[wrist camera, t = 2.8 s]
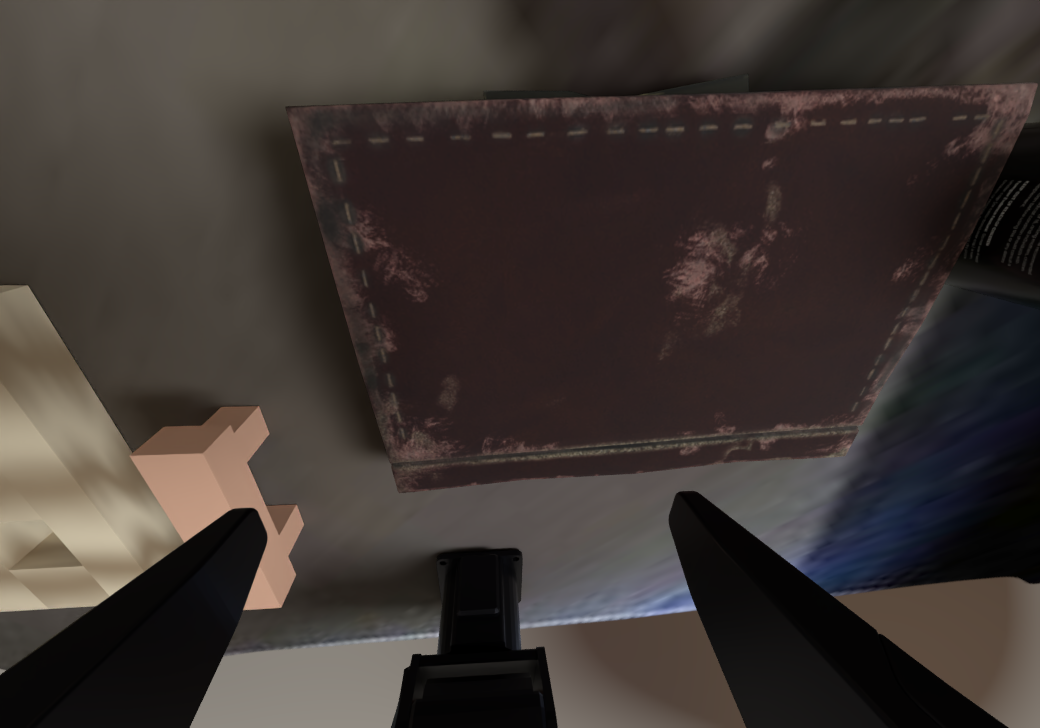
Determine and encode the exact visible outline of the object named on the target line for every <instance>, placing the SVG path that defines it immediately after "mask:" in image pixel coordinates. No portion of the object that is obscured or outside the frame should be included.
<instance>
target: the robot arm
mask: <svg viewBox="0 0 1040 728" xmlns="http://www.w3.org/2000/svg"><path fill="white" fill-rule="evenodd" d="M669 526H670V530H671V533H672V536H673V540H674V543H675V546H676V549H677V552H678V556H679V559H680V562H681V565H682V568H683V572H684V575H685V578H686V581H687V585H688V588H689V590H690V593H691V596H692V599H693V601H694V604H695V607H696V609H697V611H698V614H699V616H700V618H701V621H702V623H703V625H704V628H705V630H706V633H707V635H708V638H709V640H710V642H711V645H712V647H713V649H714V652H715V654H716V657H717V659H718V661H719V664H720V666H721V668H722V671H723V673H724V676H725V678H726V680H727V683H728V685H729V687H730V690H731V692H732V695H733V697H734V699H735V702H736V704H737V707H738V709H739V711H740V713H741V716H742V718H743V721H744V723H745V726H746V728H1008V727H1007V726H1005V725H1004V724H1003V723H1001V722H1000V721H998V720H997V719H995V718H994V717H993V716H991V715H990V714H988V713H987V712H986V711H984V710H983V709H982V708H980V707H979V706H977V705H976V704H975V703H973V702H972V701H970V700H969V699H967V698H966V697H965V696H963V695H962V694H961V693H959V692H958V691H956V690H955V689H954V688H952V687H951V686H949V685H948V684H947V683H945V682H944V681H943V680H941V679H940V678H939V677H937V676H936V675H935V674H933V673H932V672H931V671H929V670H928V669H927V668H925V667H924V666H923V665H921V664H920V663H919V662H917V661H916V660H915V659H913V658H912V657H911V656H909V655H908V654H907V653H906V652H904V651H903V650H902V649H900V648H899V647H898V646H896V645H895V644H894V643H893V642H891V641H890V640H889V639H887V638H886V637H885V636H883V635H881V634H878V632H877V631H876V630H875V629H874V628H873V627H872V626H870V625H869V624H868V623H867V622H865V621H864V620H862V619H861V618H860V617H859V616H857V615H856V614H855V613H854V612H852V611H851V610H850V609H848V608H847V607H846V606H844V605H843V604H842V603H841V602H839V601H838V600H837V599H835V598H834V597H833V596H832V595H830V594H829V593H828V592H826V591H825V590H824V589H822V588H821V587H820V586H819V585H817V584H816V583H815V582H813V581H812V580H811V579H810V578H808V577H807V576H806V575H804V574H803V573H802V572H800V571H799V570H798V569H797V568H795V567H794V566H793V565H791V564H790V563H789V562H788V561H786V560H785V559H784V558H782V557H781V556H780V555H778V554H777V553H776V552H775V551H773V550H772V549H771V548H769V547H768V546H767V545H766V544H764V543H763V542H762V541H760V540H759V539H758V538H756V537H755V536H754V535H753V534H751V533H750V532H749V531H747V530H746V529H745V528H743V527H742V526H741V525H740V524H738V523H737V522H736V521H734V520H733V519H732V518H731V517H729V516H728V515H727V514H725V513H724V512H723V511H721V510H720V509H719V508H718V507H716V506H715V505H714V504H712V503H711V502H710V501H709V500H707V499H706V498H705V497H703V496H702V495H701V494H699V493H698V492H695V491H681V492H678V493H677V494H676V496H675V498H674V502H673V505H672V508H671V511H670V514H669ZM267 540H268V536H267V531H266V529H265V527H264V524H263V522H262V520H261V518H260V515H259V513H258V511H257V510H256V509H254V508H235V509H231V510H229V511H228V512H226V513H225V514H223V515H222V516H221V517H219V518H218V519H217V520H215V521H214V522H212V523H211V524H210V525H208V526H207V527H205V528H204V529H203V530H201V531H200V532H198V533H197V534H196V535H194V536H193V537H191V538H190V539H189V540H187V541H186V542H185V543H183V544H182V545H180V546H179V547H178V548H176V549H175V550H173V551H172V552H171V553H169V554H168V555H166V556H165V557H164V558H162V559H161V560H159V561H158V562H157V563H155V564H154V565H153V566H151V567H150V568H148V569H147V570H146V571H144V572H143V573H141V574H140V575H139V576H137V577H136V578H134V579H133V580H132V581H130V582H129V583H127V584H126V585H125V586H123V587H122V588H120V589H119V590H118V591H116V592H115V593H114V594H112V595H111V596H109V597H108V598H107V599H105V600H104V601H102V602H101V603H100V604H98V605H97V606H95V607H94V608H93V609H91V610H90V611H88V612H87V613H86V614H84V615H83V616H82V617H80V618H79V619H77V620H76V621H75V622H73V623H72V624H70V625H69V626H68V627H66V628H65V629H63V630H62V631H61V632H59V633H58V634H56V635H55V636H54V637H52V638H51V639H49V640H48V641H47V642H45V643H44V644H43V645H41V646H40V647H38V648H37V649H36V650H34V651H33V652H31V653H30V654H29V655H27V656H26V657H24V658H23V659H22V660H20V661H19V662H17V663H16V664H15V665H13V666H12V667H11V668H9V669H8V670H6V671H5V672H4V673H2V674H1V675H0V728H190V725H191V723H192V721H193V719H194V717H195V715H196V713H197V711H198V708H199V706H200V704H201V702H202V700H203V698H204V696H205V694H206V691H207V689H208V687H209V685H210V683H211V681H212V678H213V676H214V674H215V672H216V670H217V668H218V666H219V663H220V662H221V659H222V657H223V655H224V653H225V651H226V649H227V647H228V645H229V642H230V640H231V638H232V636H233V634H234V631H235V629H236V627H237V625H238V622H239V620H240V617H241V614H242V612H243V609H244V606H245V604H246V601H247V598H248V595H249V593H250V590H251V587H252V584H253V581H254V579H255V576H256V573H257V570H258V568H259V565H260V562H261V559H262V556H263V554H264V551H265V548H266V545H267ZM522 559H523V558H522V552H521V551H519V550H510V551H492V552H473V553H455V554H441V555H439V556H438V557H437V562H436V565H437V573H438V580H439V587H440V594H441V601H442V611H441V621H440V631H439V640H438V650H437V655H421V654H413V655H412V660H411V664H410V666H409V667H407V668H406V669H404V675H403V681H402V687H401V693H400V698H399V702H398V706H397V709H396V713H395V716H394V719H393V723H392V726H391V728H557V719H556V712H555V707H554V701H553V695H552V689H551V684H550V677H549V672H548V666H547V660H546V654H545V648H544V647H536V649H525V650H521V637H520V622H519V607H518V603H519V602H520V601H521V584H522Z"/></svg>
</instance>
